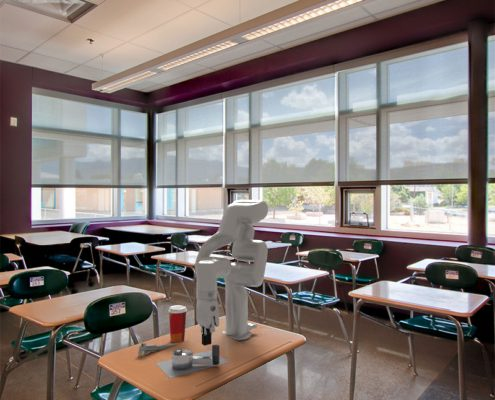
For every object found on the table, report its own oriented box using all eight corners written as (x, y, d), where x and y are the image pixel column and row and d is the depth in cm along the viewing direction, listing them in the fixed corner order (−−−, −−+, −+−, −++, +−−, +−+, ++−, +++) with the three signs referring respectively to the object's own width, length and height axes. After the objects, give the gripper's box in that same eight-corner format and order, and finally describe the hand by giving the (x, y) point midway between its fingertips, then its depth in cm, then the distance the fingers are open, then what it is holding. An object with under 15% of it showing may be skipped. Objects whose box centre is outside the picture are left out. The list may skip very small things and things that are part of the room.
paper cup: (179, 336, 162) (179, 303, 162) (190, 340, 156) (190, 307, 156) (164, 340, 156) (164, 307, 156) (175, 346, 151) (175, 311, 151)
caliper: (139, 361, 137) (139, 344, 137) (138, 360, 138) (138, 343, 138) (185, 346, 152) (185, 330, 152) (183, 345, 152) (183, 329, 152)
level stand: (211, 353, 144) (211, 349, 144) (228, 366, 133) (228, 362, 133) (155, 367, 132) (155, 362, 132) (169, 382, 121) (169, 377, 121)
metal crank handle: (220, 361, 133) (220, 342, 133) (218, 370, 126) (218, 350, 126) (174, 360, 133) (174, 341, 133) (170, 369, 126) (170, 349, 126)
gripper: (225, 297, 133) (225, 349, 134) (206, 288, 146) (206, 335, 146) (207, 300, 129) (206, 353, 129) (188, 291, 142) (188, 339, 142)
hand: (206, 344), depth 138 cm, fingers closed
